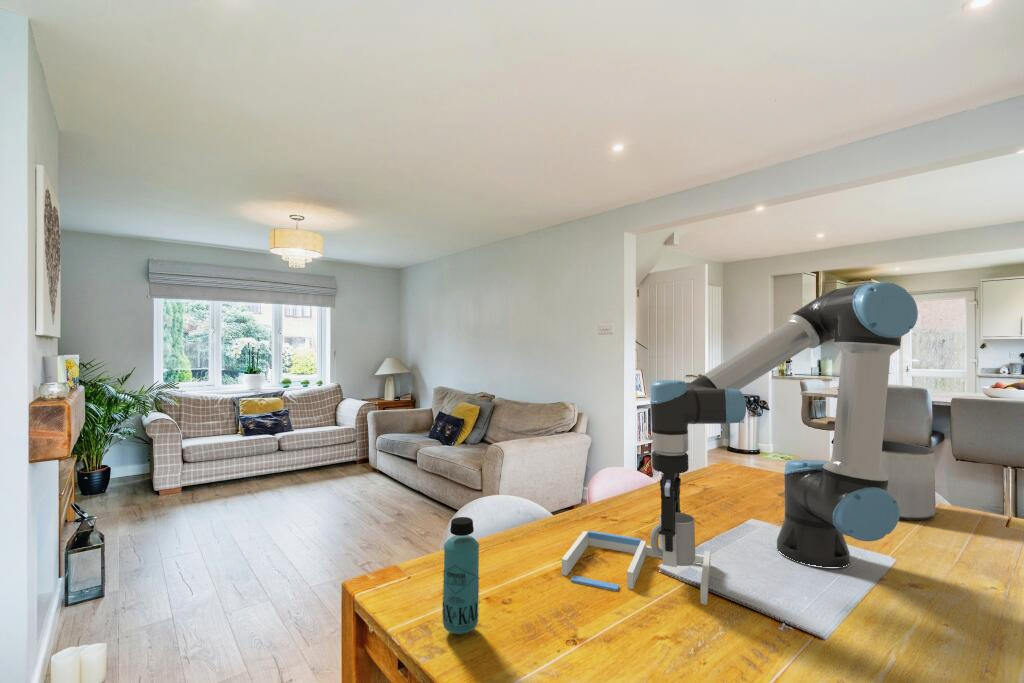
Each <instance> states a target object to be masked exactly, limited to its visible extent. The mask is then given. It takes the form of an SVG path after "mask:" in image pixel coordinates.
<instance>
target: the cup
mask: <svg viewBox="0 0 1024 683" xmlns="http://www.w3.org/2000/svg"><path fill="white" fill-rule="evenodd" d="M658 517H659V518H658V519H659V523H658V524H657V525H655V526H654V527H653V528H652V529H651V532H650V538H649V539H650V542H649V543H650V546H651V548H652V550H653V552H654V553H655V554H656V555H658V556H661V558H660V559H662V561H663V543H662V535H661V534H659V531H661V513H660V514H659V516H658ZM695 528H696V527H695V518H694V516H692V515H690V514H688V513H684V512H681V513H680V512H675V532H676V548H677V567H687V566H690V565H694V564H693V563H694V561H695V554H696V538H695V537H696V532H695V530H696V529H695ZM669 530H670V529H669Z"/></svg>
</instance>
